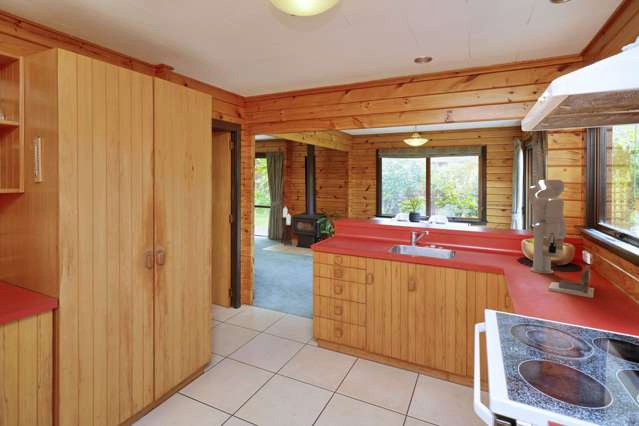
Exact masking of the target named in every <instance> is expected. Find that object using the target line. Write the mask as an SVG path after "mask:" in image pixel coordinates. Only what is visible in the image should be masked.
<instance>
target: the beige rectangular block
mask: <svg viewBox="0 0 639 426" xmlns="http://www.w3.org/2000/svg"><path fill="white" fill-rule="evenodd" d="M546 238H547V237H544V238H543V256H544V257H551V258H554V259H562V258H563V252H564V251H563V250H564V238H558V239H557V241H556V244H555V246H556V253H549V242H550V238H549V240H546ZM553 241H555V240H553Z"/></svg>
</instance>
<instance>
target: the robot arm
mask: <svg viewBox="0 0 639 426" xmlns="http://www.w3.org/2000/svg"><path fill="white" fill-rule="evenodd" d="M564 191H565V183H564V181H563V180H561V179H542V180H539V181H538V182H537V183H536V185H533V186H530V187H529V188H528V195H527V196H528V199H529V202H530V203H531V205H532V209H533V210H532V211H533V216H534V221H535V223H536V224H534V225H533V228H532V233H533V260H532V262H533V263H532V267H530V268H529V269H530V271H531V272H533V273H537V274H554V270H553V269H551V267H552V257H544V256H543V238H544V237H547V238H546V240H549V238H550V242H549V253H556V246H555V244H556V241H557V239H558V238H563V239H565V237H566V236H567V225H566V221H565V215H564V207H565V206H564V205H565V202H564V199H562V198H559V196H560V195H561V194H562V193H563V192H564ZM553 240H555V241H553Z"/></svg>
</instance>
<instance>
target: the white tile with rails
mask: <svg viewBox="0 0 639 426" xmlns="http://www.w3.org/2000/svg"><path fill="white" fill-rule="evenodd" d="M580 283H581V282H575V281H569V280H568V281H567V280H561V279H560V281H559V282H556V281H555V282H554V281H552V282H551V283H550V285H549V286H548V291H550V292H557V293H561V292H562V294H569V295H574V296H580V297H586V298H594V292H595V288H593V287H588V292H587V293H583V292H584V286H580Z"/></svg>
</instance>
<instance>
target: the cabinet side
mask: <svg viewBox="0 0 639 426" xmlns="http://www.w3.org/2000/svg"><path fill="white" fill-rule="evenodd" d="M590 266H591V265H588V264H585V268H584V272H583V271H581V274H580V282H579V283H580V286H584V292H583V293H587V292H588V287H589V284H590ZM589 288H590V287H589Z"/></svg>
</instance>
